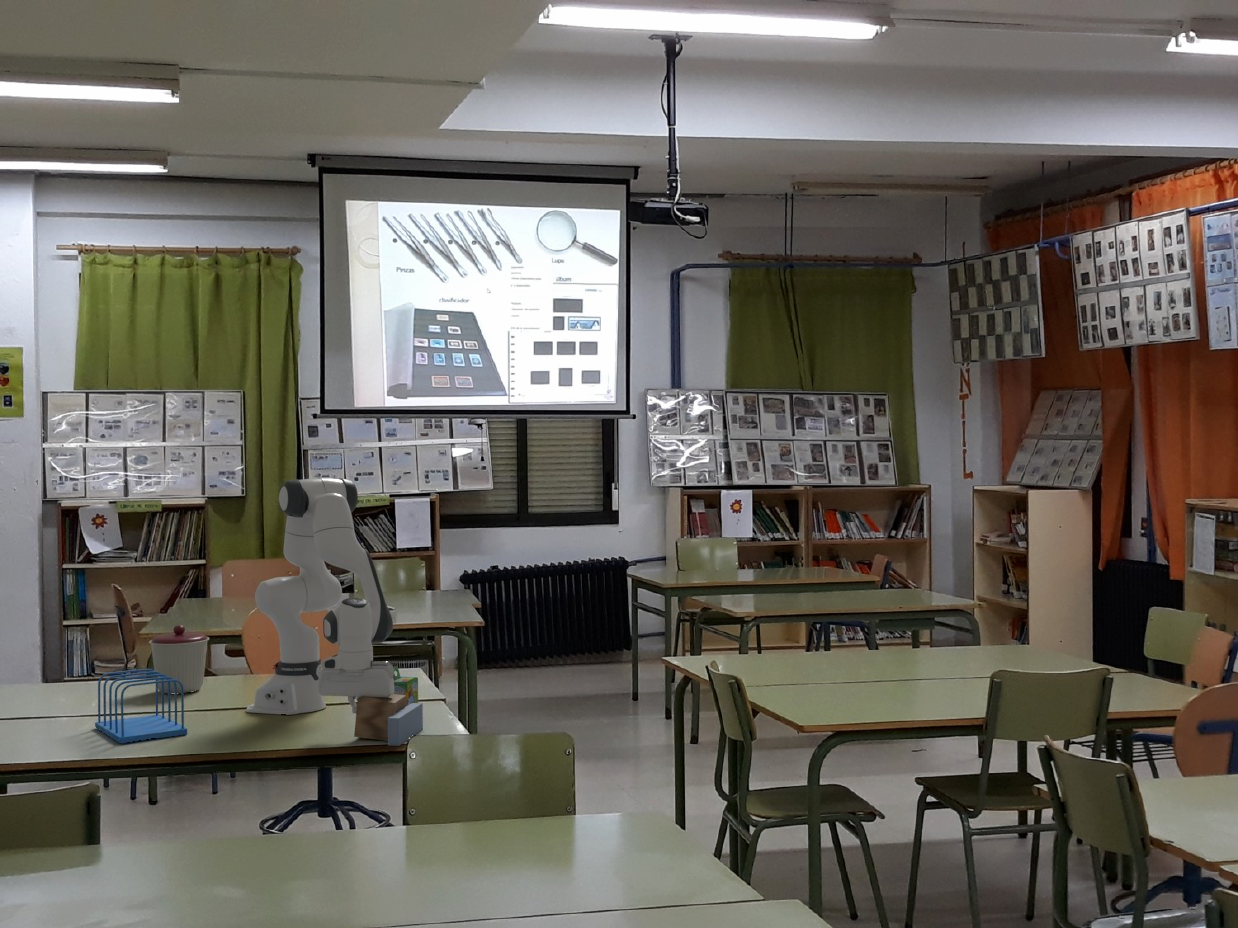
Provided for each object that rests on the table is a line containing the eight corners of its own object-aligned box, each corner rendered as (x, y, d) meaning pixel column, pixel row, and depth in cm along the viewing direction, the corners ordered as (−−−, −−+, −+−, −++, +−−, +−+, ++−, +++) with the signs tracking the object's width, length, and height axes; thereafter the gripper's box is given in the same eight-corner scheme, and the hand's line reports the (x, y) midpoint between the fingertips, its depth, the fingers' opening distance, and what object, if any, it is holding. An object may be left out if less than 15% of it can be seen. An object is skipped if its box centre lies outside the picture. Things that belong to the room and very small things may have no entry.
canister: (167, 685, 404) (166, 621, 404) (220, 686, 402) (219, 621, 401) (138, 696, 386) (137, 628, 386) (193, 697, 384) (192, 629, 383)
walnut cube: (354, 736, 322) (357, 698, 322) (366, 727, 332) (369, 690, 332) (391, 741, 321) (394, 702, 321) (402, 732, 331) (405, 695, 331)
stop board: (388, 745, 317) (387, 717, 316) (412, 728, 335) (411, 702, 335) (399, 745, 316) (398, 718, 316) (422, 728, 335) (422, 703, 335)
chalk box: (408, 724, 341) (407, 670, 341) (376, 723, 343) (375, 669, 343) (420, 717, 350) (419, 664, 350) (389, 716, 352) (388, 663, 352)
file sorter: (187, 735, 332) (186, 678, 332) (120, 745, 321) (118, 686, 321) (159, 720, 352) (158, 666, 352) (94, 729, 341) (93, 673, 341)
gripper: (397, 659, 328) (398, 711, 329) (324, 657, 332) (325, 709, 332) (389, 663, 322) (389, 716, 322) (314, 661, 326) (315, 714, 326)
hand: (356, 712), depth 327 cm, fingers closed
